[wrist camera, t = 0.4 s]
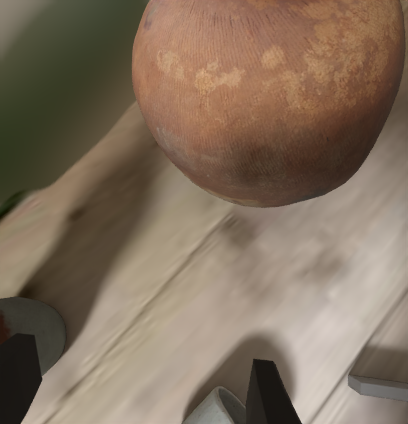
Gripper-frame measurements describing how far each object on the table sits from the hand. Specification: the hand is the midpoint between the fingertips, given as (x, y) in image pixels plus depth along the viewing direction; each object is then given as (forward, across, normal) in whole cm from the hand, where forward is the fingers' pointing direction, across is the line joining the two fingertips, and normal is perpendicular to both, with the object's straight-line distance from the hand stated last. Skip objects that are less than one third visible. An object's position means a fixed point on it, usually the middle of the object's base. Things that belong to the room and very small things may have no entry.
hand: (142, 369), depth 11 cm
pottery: (+35, -6, -2) cm, 35 cm away
